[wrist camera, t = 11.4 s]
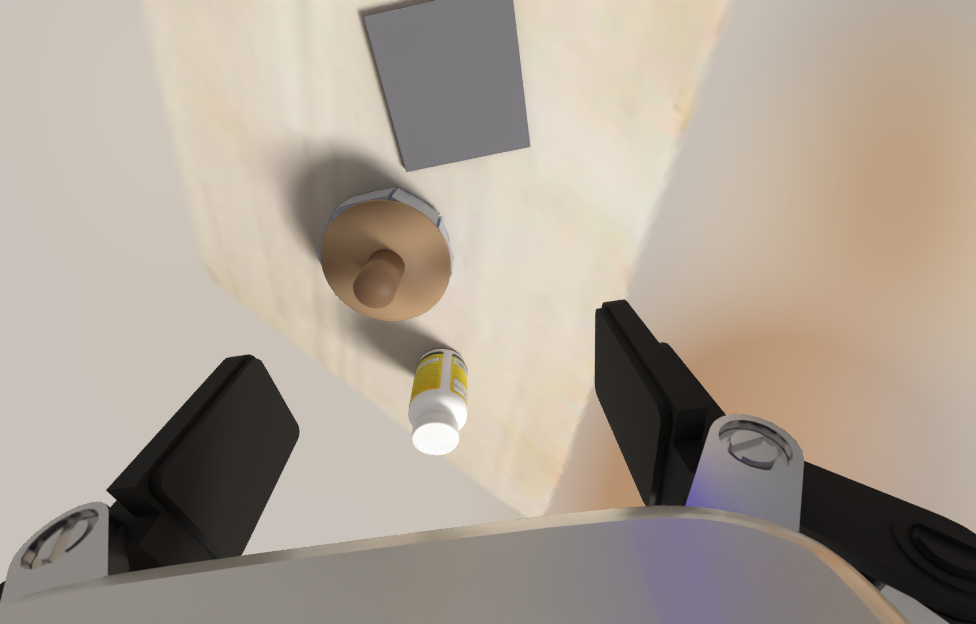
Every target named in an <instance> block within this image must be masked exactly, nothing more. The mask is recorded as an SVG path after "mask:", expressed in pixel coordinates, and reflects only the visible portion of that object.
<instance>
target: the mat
mask: <svg viewBox="0 0 976 624" xmlns="http://www.w3.org/2000/svg"><path fill="white" fill-rule="evenodd" d="M364 20H365V23H366V27H367V31H368V34H369V38H370V42H371V45H372V49H373V53H374V56H375V60H376V63H377V67H378V71H379V74H380V78H381V82H382V85H383V89H384V92H385V96H386V100H387V103H388V107H389V111H390V114H391V118H392V121H393V125H394V129H395V132H396V136H397V140H398V143H399V147H400V150H401V154H402V158H403V161H404V165H405V169H406V172H409V171H414V170H418V169H423V168H428V167H433V166H438V165H443V164H448V163H453V162H458V161H463V160H468V159H473V158H478V157H482V156H487V155H492V154H497V153H502V152H507V151H512V150H517V149H522V148H527V147H530V140H529V132H528V123H527V115H526V106H525V98H524V89H523V81H522V72H521V64H520V55H519V47H518V38H517V30H516V21H515V13H514V4H513V0H435V1H431V2H426V3H422V4H417V5H413V6H408V7H404V8H400V9H395V10H391V11H386V12H382V13H377V14H373V15H369V16H364Z"/></svg>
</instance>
